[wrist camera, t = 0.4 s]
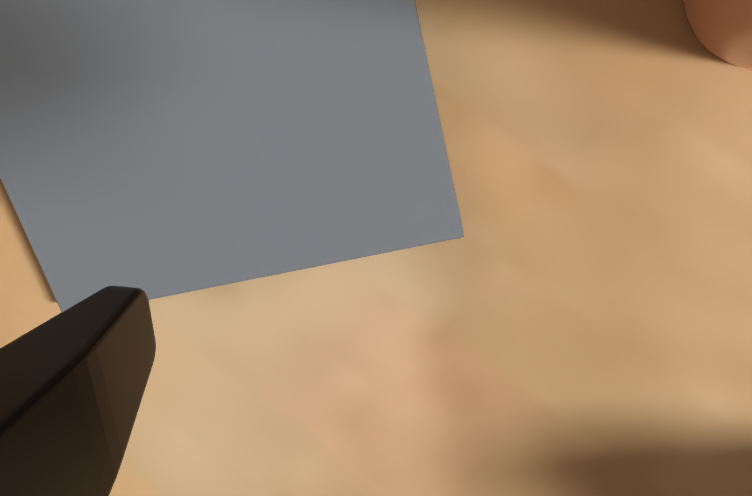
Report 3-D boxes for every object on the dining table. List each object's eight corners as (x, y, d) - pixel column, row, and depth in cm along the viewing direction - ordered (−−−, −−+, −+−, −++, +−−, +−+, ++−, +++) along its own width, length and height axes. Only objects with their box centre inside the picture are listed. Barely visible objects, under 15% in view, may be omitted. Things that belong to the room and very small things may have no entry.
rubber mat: (462, 228, 22) (463, 236, 22) (74, 306, 25) (63, 316, 24) (334, -375, 17) (330, -391, 16) (-155, -204, 19) (-178, -211, 18)
